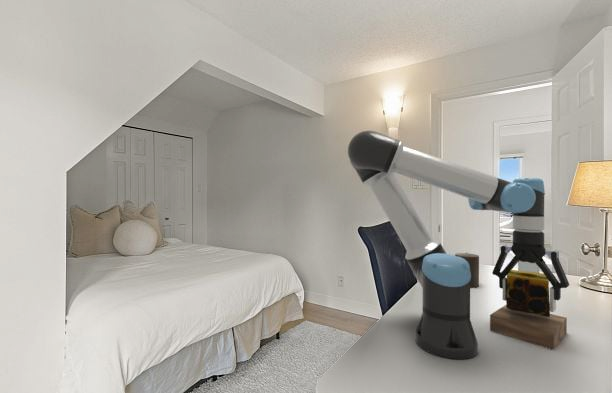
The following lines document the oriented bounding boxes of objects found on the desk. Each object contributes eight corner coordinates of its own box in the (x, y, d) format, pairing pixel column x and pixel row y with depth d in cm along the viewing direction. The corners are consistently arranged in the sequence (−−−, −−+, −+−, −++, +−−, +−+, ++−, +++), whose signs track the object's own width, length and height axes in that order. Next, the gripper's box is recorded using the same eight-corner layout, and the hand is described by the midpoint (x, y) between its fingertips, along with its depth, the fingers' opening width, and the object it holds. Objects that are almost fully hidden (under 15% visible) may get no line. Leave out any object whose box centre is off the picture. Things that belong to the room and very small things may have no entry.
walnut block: (553, 351, 79) (553, 332, 79) (490, 331, 91) (490, 314, 91) (566, 334, 89) (566, 317, 88) (507, 318, 100) (507, 303, 100)
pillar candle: (471, 289, 130) (471, 254, 130) (450, 283, 139) (450, 250, 139) (483, 286, 136) (483, 252, 136) (462, 280, 144) (462, 249, 144)
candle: (550, 318, 82) (550, 281, 82) (505, 309, 89) (505, 275, 89) (549, 307, 90) (549, 273, 90) (509, 300, 97) (509, 268, 97)
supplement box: (537, 285, 136) (537, 257, 136) (539, 290, 130) (539, 260, 130) (517, 283, 140) (517, 255, 140) (518, 287, 134) (518, 258, 134)
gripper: (584, 233, 83) (583, 313, 83) (490, 226, 101) (489, 292, 101) (577, 235, 78) (577, 320, 78) (480, 228, 96) (480, 297, 96)
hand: (528, 304), depth 90 cm, fingers closed on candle, 11 cm apart
